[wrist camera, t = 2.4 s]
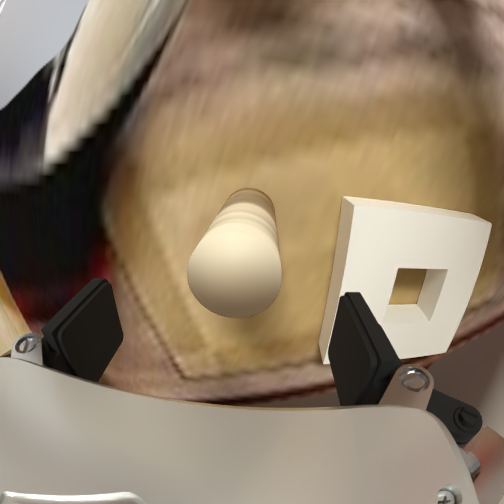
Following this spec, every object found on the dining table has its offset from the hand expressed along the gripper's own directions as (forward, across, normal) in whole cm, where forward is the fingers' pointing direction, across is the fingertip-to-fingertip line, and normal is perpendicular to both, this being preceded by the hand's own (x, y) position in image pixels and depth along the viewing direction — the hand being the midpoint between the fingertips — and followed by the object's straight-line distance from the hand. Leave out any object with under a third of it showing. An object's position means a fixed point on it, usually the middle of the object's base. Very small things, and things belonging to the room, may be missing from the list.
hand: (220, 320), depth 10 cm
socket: (+14, -16, +5) cm, 22 cm away
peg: (+14, 0, -1) cm, 15 cm away
